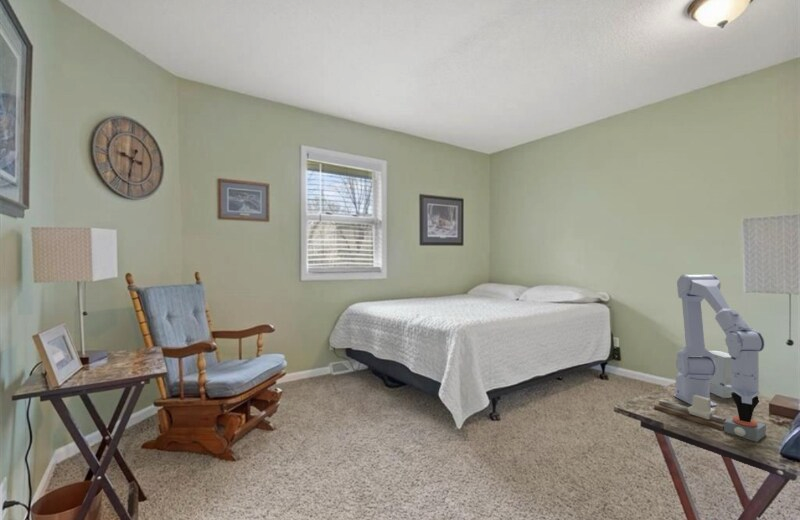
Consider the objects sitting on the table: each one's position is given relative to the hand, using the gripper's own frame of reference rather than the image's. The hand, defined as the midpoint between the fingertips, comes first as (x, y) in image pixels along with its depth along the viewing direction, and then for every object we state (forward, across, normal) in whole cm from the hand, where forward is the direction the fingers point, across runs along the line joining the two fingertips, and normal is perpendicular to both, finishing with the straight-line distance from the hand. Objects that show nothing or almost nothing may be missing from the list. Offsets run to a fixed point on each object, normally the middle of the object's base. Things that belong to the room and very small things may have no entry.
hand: (744, 420), depth 105 cm
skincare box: (+4, -33, -4) cm, 33 cm away
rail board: (+4, -4, -12) cm, 14 cm away
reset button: (+3, 0, 0) cm, 3 cm away
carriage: (+2, -3, -10) cm, 10 cm away
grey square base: (+4, 0, 0) cm, 4 cm away
